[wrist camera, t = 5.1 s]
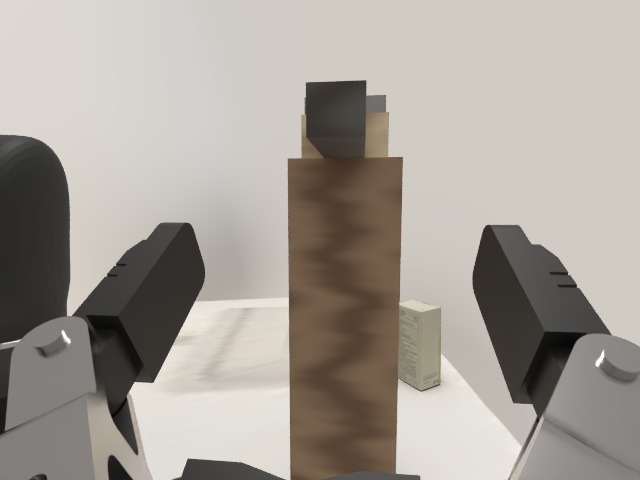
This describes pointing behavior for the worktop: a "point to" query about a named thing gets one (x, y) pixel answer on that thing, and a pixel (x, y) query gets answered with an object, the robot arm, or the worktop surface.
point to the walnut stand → (343, 314)
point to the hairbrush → (344, 121)
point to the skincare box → (419, 344)
